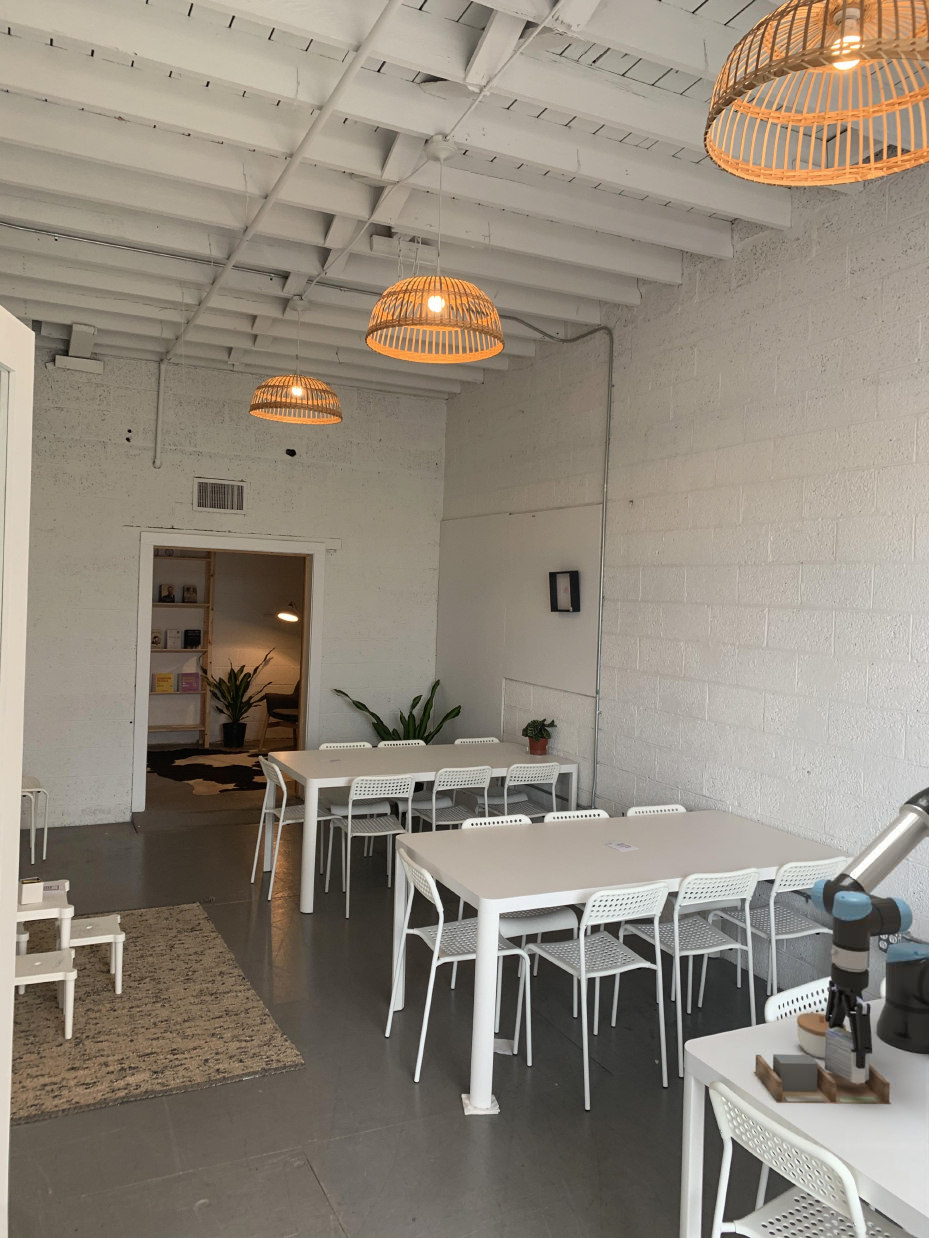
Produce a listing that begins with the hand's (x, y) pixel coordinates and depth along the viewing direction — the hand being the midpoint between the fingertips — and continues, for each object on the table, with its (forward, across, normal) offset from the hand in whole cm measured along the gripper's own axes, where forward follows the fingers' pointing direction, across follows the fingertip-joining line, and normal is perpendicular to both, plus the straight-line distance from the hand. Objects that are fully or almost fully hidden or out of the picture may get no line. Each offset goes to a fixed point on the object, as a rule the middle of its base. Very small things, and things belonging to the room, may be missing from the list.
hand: (846, 1070), depth 191 cm
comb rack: (+5, 0, -6) cm, 7 cm away
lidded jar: (+5, -17, +2) cm, 18 cm away
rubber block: (+4, 0, -11) cm, 12 cm away
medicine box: (+1, 0, 0) cm, 1 cm away
